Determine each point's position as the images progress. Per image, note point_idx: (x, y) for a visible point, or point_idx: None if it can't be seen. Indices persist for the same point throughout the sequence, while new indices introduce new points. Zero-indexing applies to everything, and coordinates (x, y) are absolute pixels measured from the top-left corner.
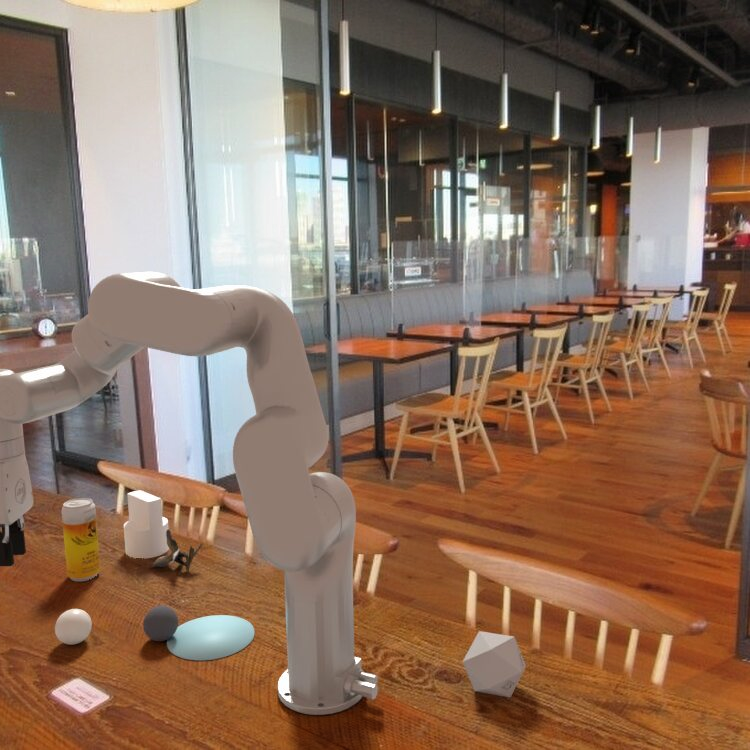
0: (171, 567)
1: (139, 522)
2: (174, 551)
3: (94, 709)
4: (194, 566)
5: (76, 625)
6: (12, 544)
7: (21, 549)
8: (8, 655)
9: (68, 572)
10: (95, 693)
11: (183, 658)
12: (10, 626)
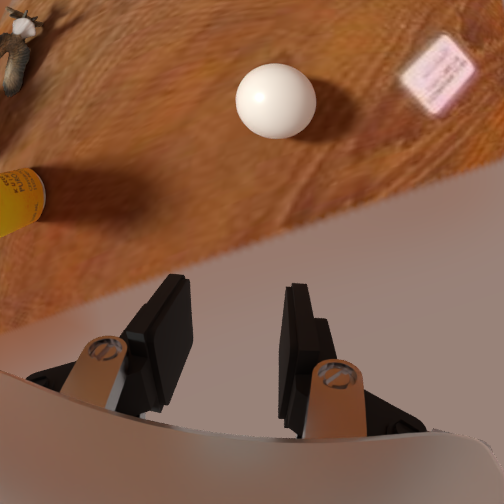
0: None
1: None
2: (10, 39)
3: (469, 55)
4: None
5: (308, 82)
6: (179, 340)
7: (184, 292)
8: (309, 221)
9: (35, 217)
10: (439, 52)
11: None
12: (196, 257)
